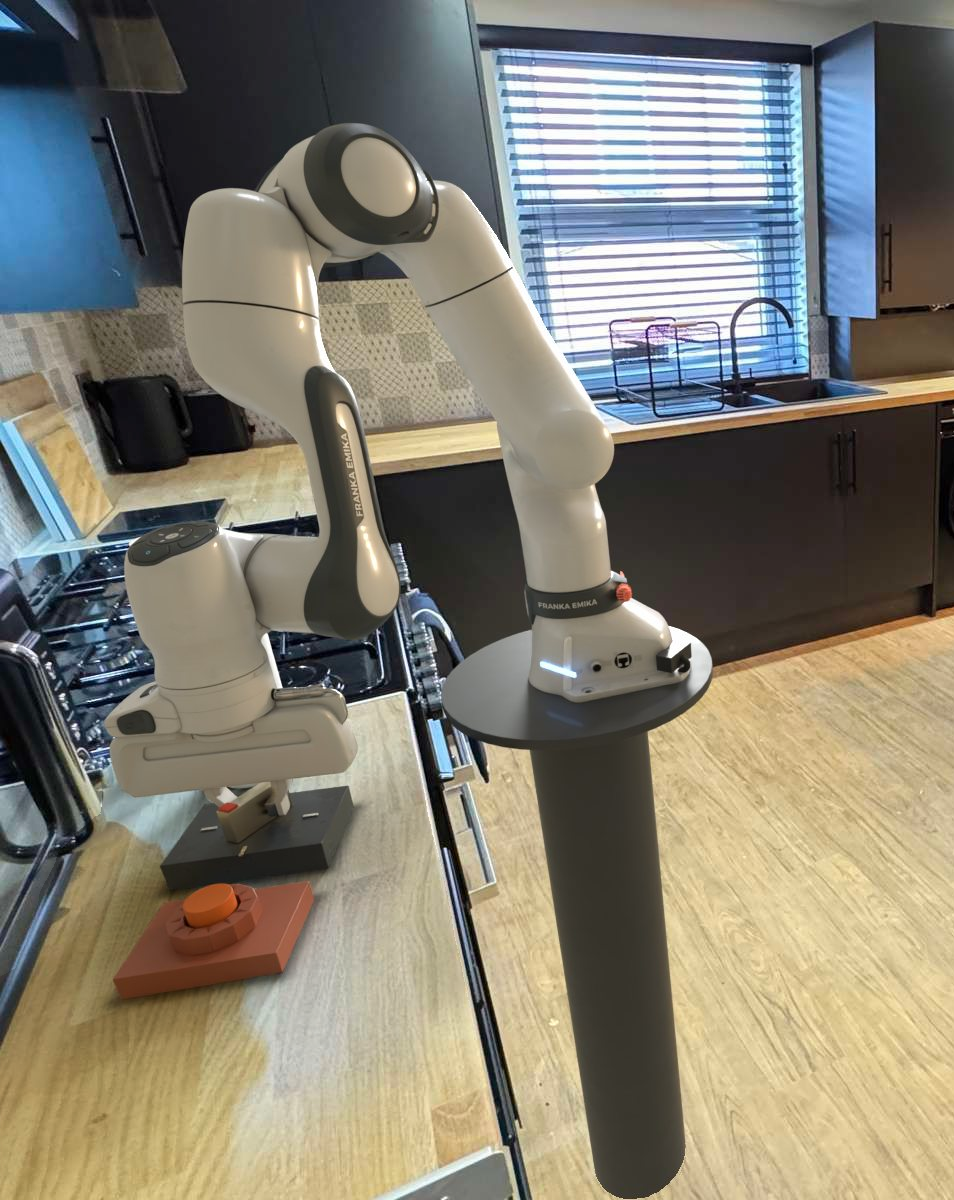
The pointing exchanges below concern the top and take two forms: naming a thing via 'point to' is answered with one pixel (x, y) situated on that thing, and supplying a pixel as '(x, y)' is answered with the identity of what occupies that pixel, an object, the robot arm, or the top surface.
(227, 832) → the beige rectangular block
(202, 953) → the button block
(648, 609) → the robot arm
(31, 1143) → the top surface
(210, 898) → the button
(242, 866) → the control panel
